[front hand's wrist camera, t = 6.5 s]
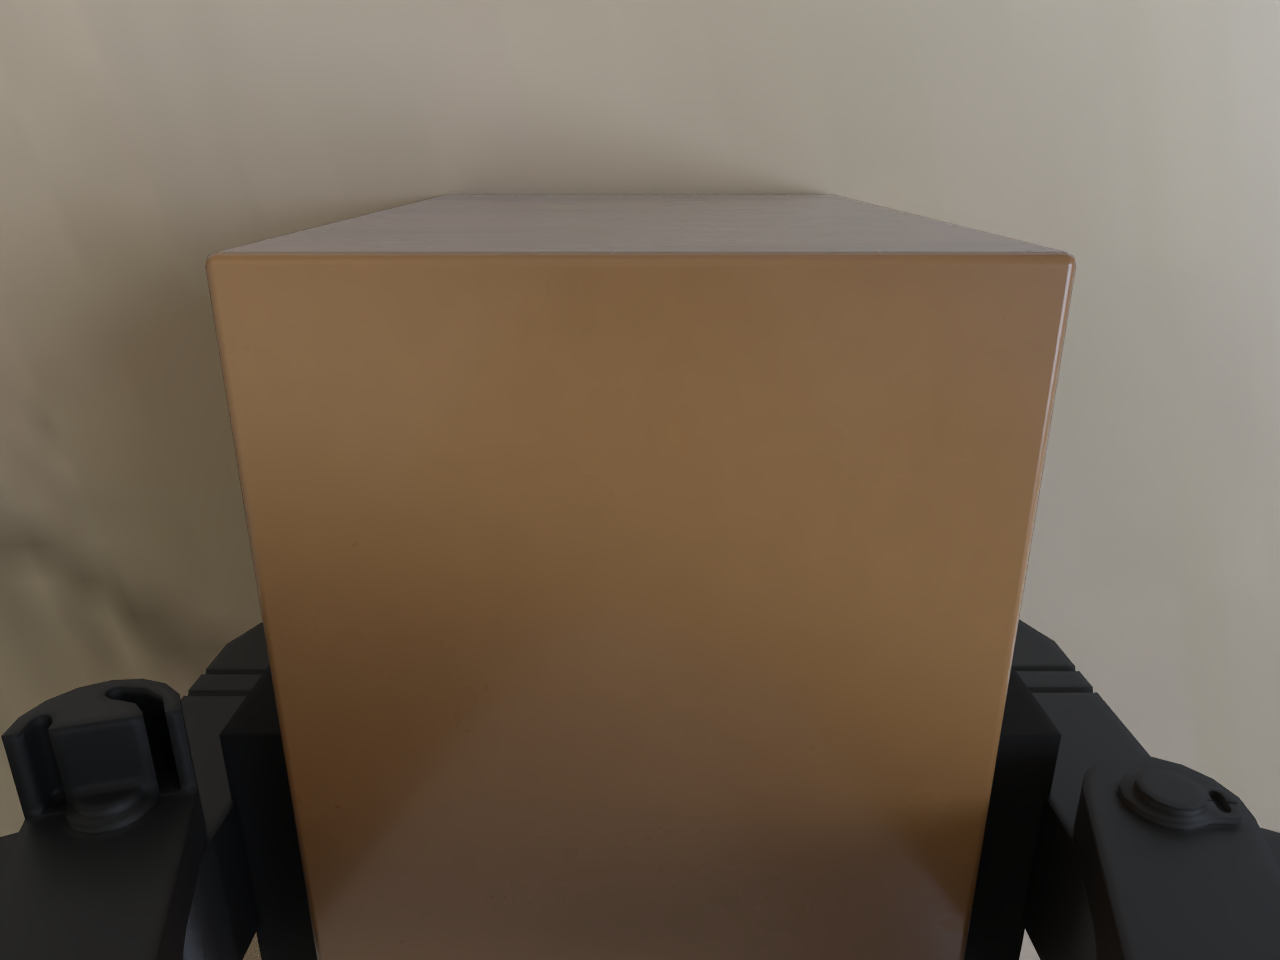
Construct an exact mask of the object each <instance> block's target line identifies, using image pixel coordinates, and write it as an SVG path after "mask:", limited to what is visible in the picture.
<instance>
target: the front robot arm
mask: <svg viewBox="0 0 1280 960" xmlns="http://www.w3.org/2000/svg"><path fill="white" fill-rule="evenodd" d="M1 737H2V740H3V744H4V747H5V751H6V754H7V758H8V761H9V765H10V768H11V772H12V775H13V779H14V782H15V785H16V789H17V792H18V796H19V799H20V803H21V806H22V810H23V813H24V817H25V821H24V823H23V825H22V827H21V829H20V831H19V832H18V833H15V834H11V835H7V836H4V837H0V960H242V959H243V957H244V955H245V953H246V951H247V949H248V947H249V945H250V943H251V941H252V939H253V937H254V935H255V933H256V932H257V937H258V943H259V948H260V953H261V959H262V960H317V954H316V948H315V942H314V935H313V929H312V923H311V917H310V911H309V904H308V898H307V892H306V886H305V880H304V873H303V867H302V861H301V855H300V849H299V842H298V836H297V830H296V824H295V818H294V811H293V805H292V799H291V793H290V787H289V780H288V774H287V768H286V762H285V756H284V749H283V743H282V737H281V731H280V725H279V718H278V712H277V706H276V700H275V694H274V687H273V681H272V675H271V669H270V663H269V656H268V650H267V644H266V638H265V632H264V625H263V623H260V624H259V625H257V626H255V627H254V628H252V629H251V630H249V631H247V632H246V633H244V634H243V635H241V636H239V637H238V638H236V639H235V640H233V641H231V642H230V643H228V644H227V645H226V646H225V647H224V648H223V650H222V651H221V652H220V653H219V654H218V656H217V657H216V658H215V659H214V660H213V662H212V663H211V664H210V665H209V666H208V668H207V669H206V674H202V675H201V676H200V677H199V679H198V680H197V681H196V682H195V683H194V685H193V686H192V687H191V688H190V689H189V694H188V696H184V697H183V698H182V699H181V700H180V695H179V693H177V692H176V691H175V690H173V689H172V688H171V687H170V686H168V685H167V684H165V683H161V682H156V681H151V680H146V679H128V680H111V681H107V682H102V683H98V684H93V685H89V686H84V687H80V688H77V689H74V690H72V691H69V692H67V693H64V694H62V695H59V696H57V697H54V698H52V699H49V700H47V701H45V702H43V703H42V704H40V705H38V706H37V707H35V708H34V709H32V710H30V711H29V712H27V713H26V714H24V715H22V716H21V717H19V718H18V719H17V720H16V721H15V722H14V723H13V724H12V726H11V727H10V728H9V729H8V730H7V731H6V732H5V733H4V734H3V735H2V736H1ZM1025 929H1026V931H1027V933H1028V935H1029V937H1030V939H1031V941H1032V943H1033V945H1034V947H1035V949H1036V951H1037V953H1038V956H1039V958H1040V960H1280V833H1278V832H1274V831H1270V830H1267V829H1263V828H1260V827H1259V825H1258V823H1257V821H1256V819H1255V818H1254V816H1253V815H1252V814H1251V813H1250V811H1249V810H1248V809H1247V807H1246V806H1245V805H1244V804H1243V802H1242V801H1241V800H1240V798H1239V797H1237V796H1236V795H1234V794H1233V793H1232V792H1230V791H1229V790H1228V789H1226V788H1225V787H1223V786H1222V785H1221V784H1219V783H1218V782H1216V781H1215V780H1214V779H1212V778H1210V777H1207V776H1205V775H1203V774H1201V773H1199V772H1197V771H1194V770H1192V769H1190V768H1188V767H1186V766H1183V765H1181V764H1177V763H1173V762H1169V761H1165V760H1161V759H1158V758H1154V757H1150V755H1149V754H1148V753H1147V752H1146V751H1145V749H1144V748H1143V747H1142V746H1141V745H1140V743H1139V742H1138V741H1137V740H1136V739H1135V737H1134V736H1133V735H1132V734H1131V733H1130V731H1129V730H1128V729H1127V728H1126V727H1125V725H1124V724H1123V723H1122V722H1121V721H1120V719H1119V718H1118V717H1117V716H1116V715H1115V713H1114V712H1113V711H1112V710H1111V709H1110V707H1109V706H1108V705H1107V704H1106V703H1105V701H1104V700H1103V699H1102V698H1101V697H1100V695H1099V694H1098V693H1093V687H1092V686H1091V685H1090V684H1089V682H1088V681H1087V680H1086V679H1085V678H1084V676H1083V675H1082V674H1081V673H1080V672H1079V671H1075V666H1074V664H1073V663H1072V662H1071V661H1070V660H1069V658H1068V657H1067V656H1066V655H1065V654H1064V652H1063V651H1062V650H1061V649H1060V648H1059V646H1058V645H1057V644H1056V643H1055V642H1054V641H1053V640H1051V639H1050V638H1048V637H1047V636H1045V635H1043V634H1042V633H1040V632H1038V631H1037V630H1035V629H1034V628H1032V627H1030V626H1029V625H1027V624H1026V623H1024V622H1022V621H1021V620H1019V621H1018V628H1017V634H1016V640H1015V646H1014V652H1013V659H1012V665H1011V671H1010V677H1009V683H1008V689H1007V696H1006V702H1005V708H1004V714H1003V720H1002V727H1001V733H1000V739H999V745H998V751H997V758H996V764H995V770H994V776H993V782H992V788H991V795H990V801H989V807H988V813H987V819H986V826H985V832H984V838H983V844H982V850H981V857H980V863H979V869H978V875H977V881H976V887H975V894H974V900H973V906H972V912H971V918H970V925H969V931H968V937H967V943H966V949H965V956H964V960H1019V957H1020V951H1021V946H1022V941H1023V935H1024V930H1025Z"/></svg>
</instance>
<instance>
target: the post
mask: <svg viewBox="0 0 1280 960" xmlns="http://www.w3.org/2000/svg"><path fill="white" fill-rule="evenodd" d="M1075 269H1076V264H1075V258H1074V256H1073V255H1070V254H1068V253H1066V252H1063V251H1059V250H1055V249H1051V248H1047V247H1043V246H1039V245H1035V244H1031V243H1027V242H1023V241H1019V240H1015V239H1011V238H1007V237H1003V236H999V235H995V234H991V233H987V232H983V231H979V230H975V229H971V228H967V227H963V226H959V225H955V224H950V223H946V222H942V221H938V220H934V219H930V218H926V217H922V216H918V215H914V214H910V213H906V212H902V211H898V210H894V209H890V208H886V207H882V206H878V205H874V204H870V203H866V202H862V201H858V200H854V199H850V198H846V197H842V196H838V195H833V194H743V195H443V196H439V197H435V198H431V199H427V200H423V201H419V202H415V203H411V204H407V205H403V206H399V207H395V208H391V209H387V210H383V211H379V212H375V213H371V214H367V215H363V216H359V217H355V218H351V219H347V220H343V221H339V222H335V223H331V224H327V225H323V226H319V227H315V228H311V229H307V230H303V231H299V232H295V233H291V234H287V235H283V236H279V237H275V238H271V239H267V240H263V241H259V242H255V243H251V244H247V245H243V246H239V247H235V248H231V249H227V250H223V251H219V252H216V253H214V254H211V255H209V256H208V258H207V261H206V272H207V278H208V284H209V291H210V297H211V303H212V309H213V315H214V322H215V328H216V334H217V340H218V346H219V353H220V359H221V365H222V371H223V377H224V384H225V390H226V396H227V402H228V408H229V415H230V421H231V427H232V433H233V439H234V446H235V452H236V458H237V464H238V470H239V477H240V483H241V489H242V495H243V501H244V508H245V514H246V520H247V526H248V532H249V539H250V545H251V551H252V557H253V563H254V570H255V576H256V582H257V588H258V594H259V601H260V607H261V613H262V619H263V625H264V632H265V638H266V644H267V650H268V656H269V663H270V669H271V675H272V681H273V687H274V694H275V700H276V706H277V712H278V718H279V725H280V731H281V737H282V743H283V749H284V756H285V762H286V768H287V774H288V780H289V787H290V793H291V799H292V805H293V811H294V818H295V824H296V830H297V836H298V842H299V849H300V855H301V861H302V867H303V873H304V880H305V886H306V892H307V898H308V904H309V911H310V917H311V923H312V929H313V935H314V942H315V948H316V954H317V960H964V956H965V949H966V943H967V937H968V931H969V925H970V918H971V912H972V906H973V900H974V894H975V887H976V881H977V875H978V869H979V863H980V857H981V850H982V844H983V838H984V832H985V826H986V819H987V813H988V807H989V801H990V795H991V788H992V782H993V776H994V770H995V764H996V758H997V751H998V745H999V739H1000V733H1001V727H1002V720H1003V714H1004V708H1005V702H1006V696H1007V689H1008V683H1009V677H1010V671H1011V665H1012V659H1013V652H1014V646H1015V640H1016V634H1017V628H1018V621H1019V615H1020V609H1021V603H1022V597H1023V591H1024V584H1025V578H1026V572H1027V566H1028V560H1029V553H1030V547H1031V541H1032V535H1033V529H1034V522H1035V516H1036V510H1037V504H1038V498H1039V492H1040V485H1041V479H1042V473H1043V467H1044V461H1045V454H1046V448H1047V442H1048V436H1049V430H1050V423H1051V417H1052V411H1053V405H1054V399H1055V393H1056V386H1057V380H1058V374H1059V368H1060V362H1061V355H1062V349H1063V343H1064V337H1065V331H1066V324H1067V318H1068V312H1069V306H1070V300H1071V294H1072V287H1073V281H1074V275H1075Z"/></svg>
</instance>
